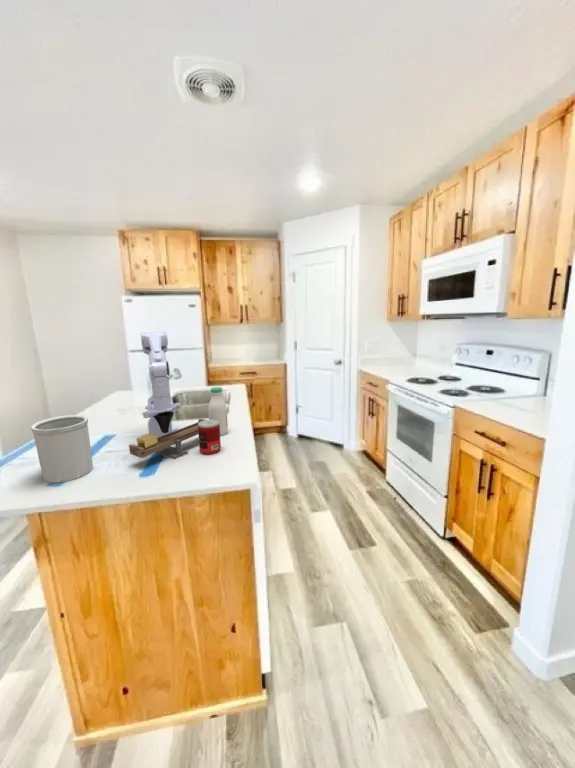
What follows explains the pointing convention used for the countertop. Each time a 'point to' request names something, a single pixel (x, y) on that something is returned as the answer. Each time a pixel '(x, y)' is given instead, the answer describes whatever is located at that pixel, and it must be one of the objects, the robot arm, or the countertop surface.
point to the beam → (166, 440)
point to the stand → (173, 451)
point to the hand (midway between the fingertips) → (164, 432)
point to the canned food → (209, 436)
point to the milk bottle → (218, 409)
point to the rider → (147, 441)
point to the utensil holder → (63, 447)
